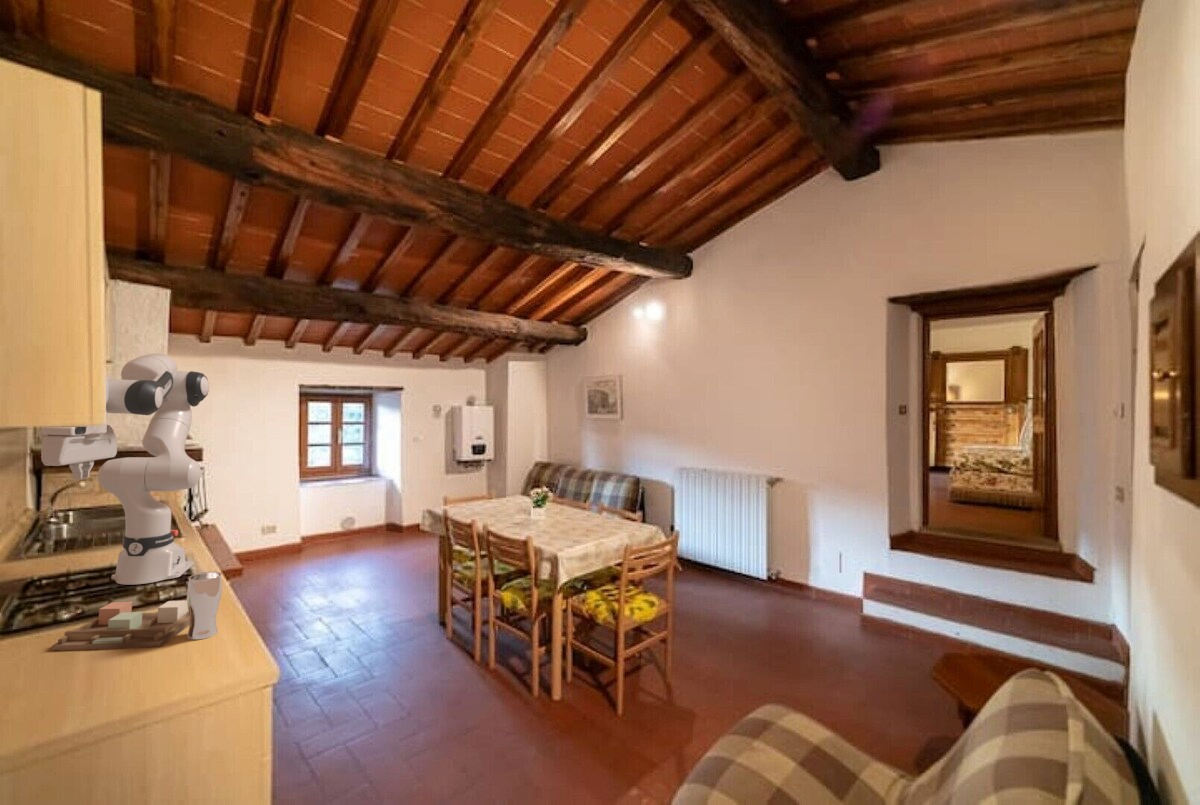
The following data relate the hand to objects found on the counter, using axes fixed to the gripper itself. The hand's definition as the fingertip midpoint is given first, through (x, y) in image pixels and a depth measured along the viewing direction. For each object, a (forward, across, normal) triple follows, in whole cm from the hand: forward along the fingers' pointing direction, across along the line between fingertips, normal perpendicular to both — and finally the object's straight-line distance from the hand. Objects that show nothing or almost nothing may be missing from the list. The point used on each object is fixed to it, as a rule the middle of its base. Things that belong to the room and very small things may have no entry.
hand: (81, 478), depth 135 cm
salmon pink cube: (+36, +5, +12) cm, 38 cm away
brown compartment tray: (+37, +9, +19) cm, 43 cm away
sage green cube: (+36, +12, +19) cm, 42 cm away
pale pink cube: (+36, +5, +25) cm, 44 cm away
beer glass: (+37, +12, +36) cm, 53 cm away
